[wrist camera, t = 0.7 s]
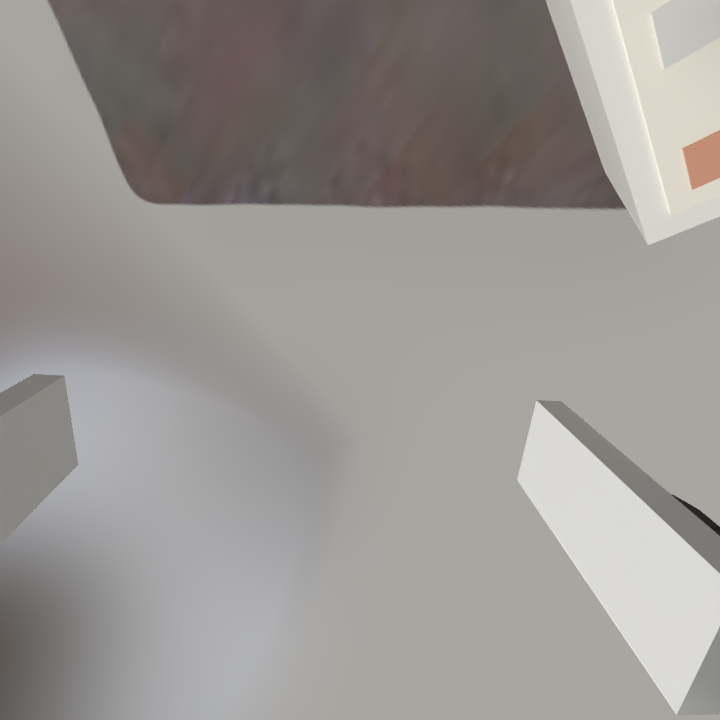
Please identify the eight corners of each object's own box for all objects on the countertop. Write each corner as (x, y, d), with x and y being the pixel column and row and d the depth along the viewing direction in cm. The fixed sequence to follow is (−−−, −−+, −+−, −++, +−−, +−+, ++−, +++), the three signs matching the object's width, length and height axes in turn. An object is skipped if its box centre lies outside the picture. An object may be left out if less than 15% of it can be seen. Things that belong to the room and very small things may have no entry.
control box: (649, -314, 21) (784, -488, 12) (722, 112, 32) (819, 180, 23) (491, -158, 25) (506, -204, 16) (604, 171, 36) (649, 248, 27)
